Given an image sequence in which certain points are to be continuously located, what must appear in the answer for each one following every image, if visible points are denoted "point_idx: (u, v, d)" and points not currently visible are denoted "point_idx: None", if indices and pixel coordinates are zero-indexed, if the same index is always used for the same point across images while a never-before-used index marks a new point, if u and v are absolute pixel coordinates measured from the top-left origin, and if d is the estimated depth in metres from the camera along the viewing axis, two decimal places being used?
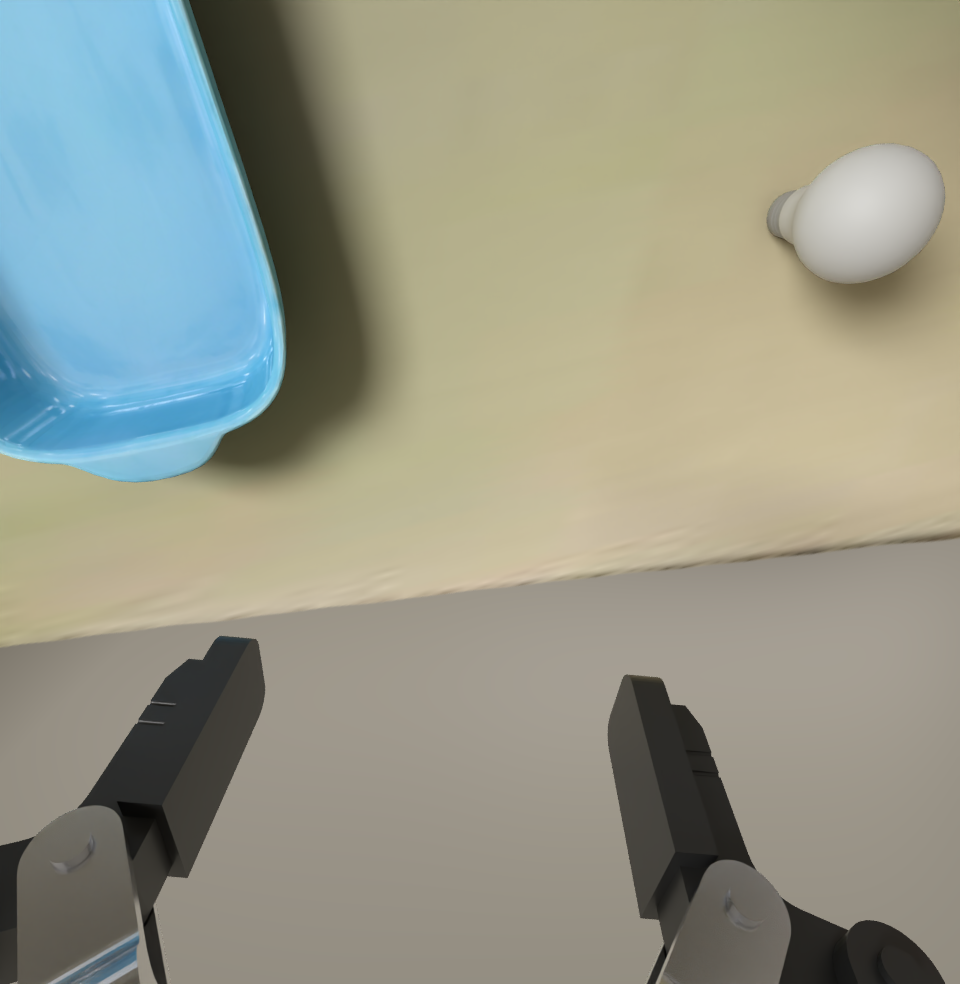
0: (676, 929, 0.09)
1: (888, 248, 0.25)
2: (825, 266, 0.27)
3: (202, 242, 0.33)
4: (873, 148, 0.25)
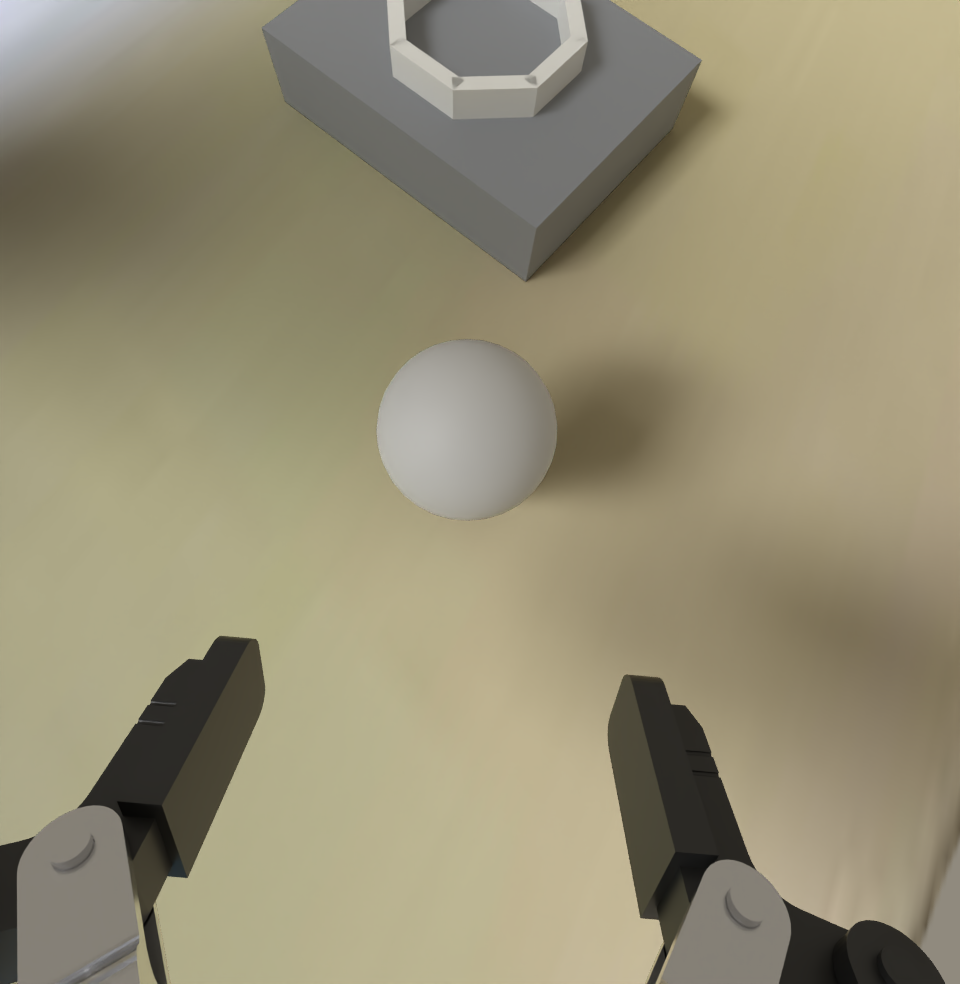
0: (676, 929, 0.09)
1: (494, 430, 0.16)
2: (480, 505, 0.17)
3: None
4: (385, 391, 0.18)
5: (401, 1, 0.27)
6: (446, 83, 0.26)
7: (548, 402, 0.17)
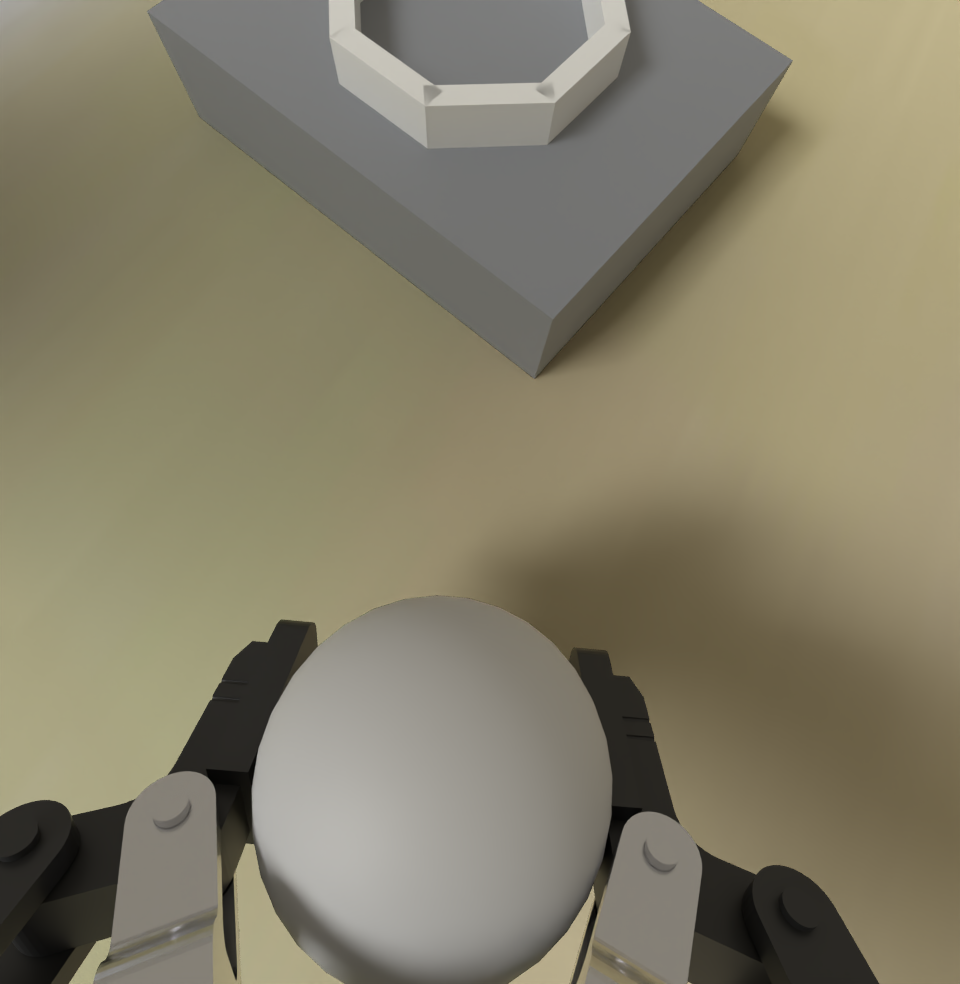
0: (603, 878, 0.09)
1: (487, 911, 0.07)
2: None
3: None
4: None
5: None
6: (415, 95, 0.17)
7: (600, 763, 0.08)
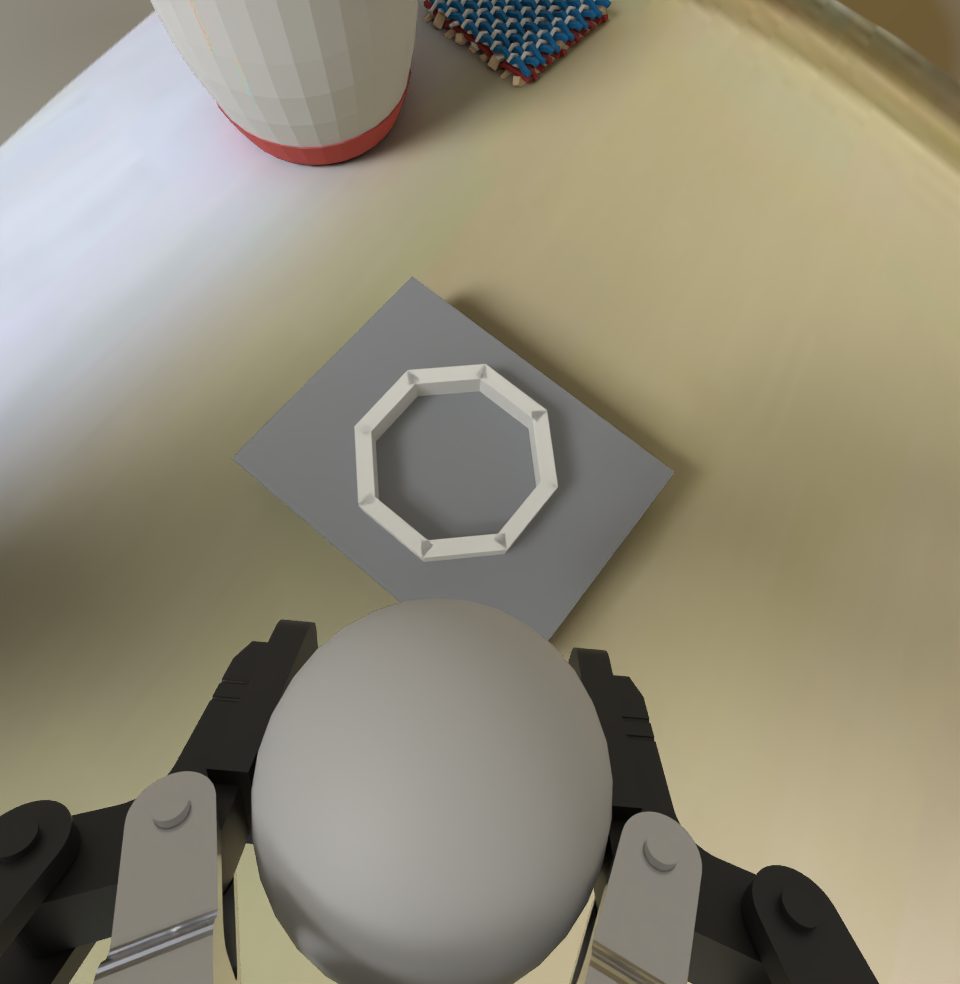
0: (603, 878, 0.09)
1: (488, 916, 0.07)
2: None
3: None
4: (273, 711, 0.09)
5: (370, 447, 0.27)
6: (415, 548, 0.26)
7: (600, 767, 0.08)
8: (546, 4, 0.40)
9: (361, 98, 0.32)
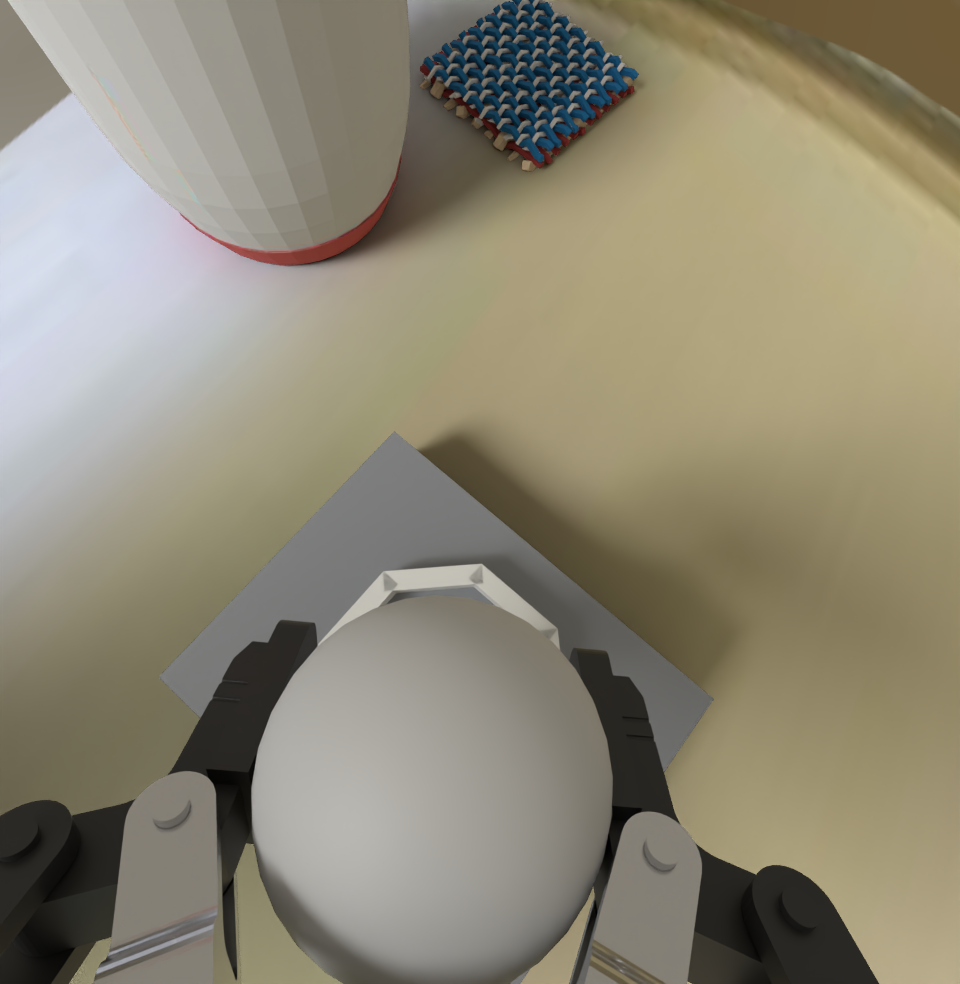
0: (603, 878, 0.09)
1: (488, 912, 0.07)
2: None
3: None
4: None
5: None
6: None
7: (600, 764, 0.08)
8: (563, 74, 0.34)
9: (338, 204, 0.26)
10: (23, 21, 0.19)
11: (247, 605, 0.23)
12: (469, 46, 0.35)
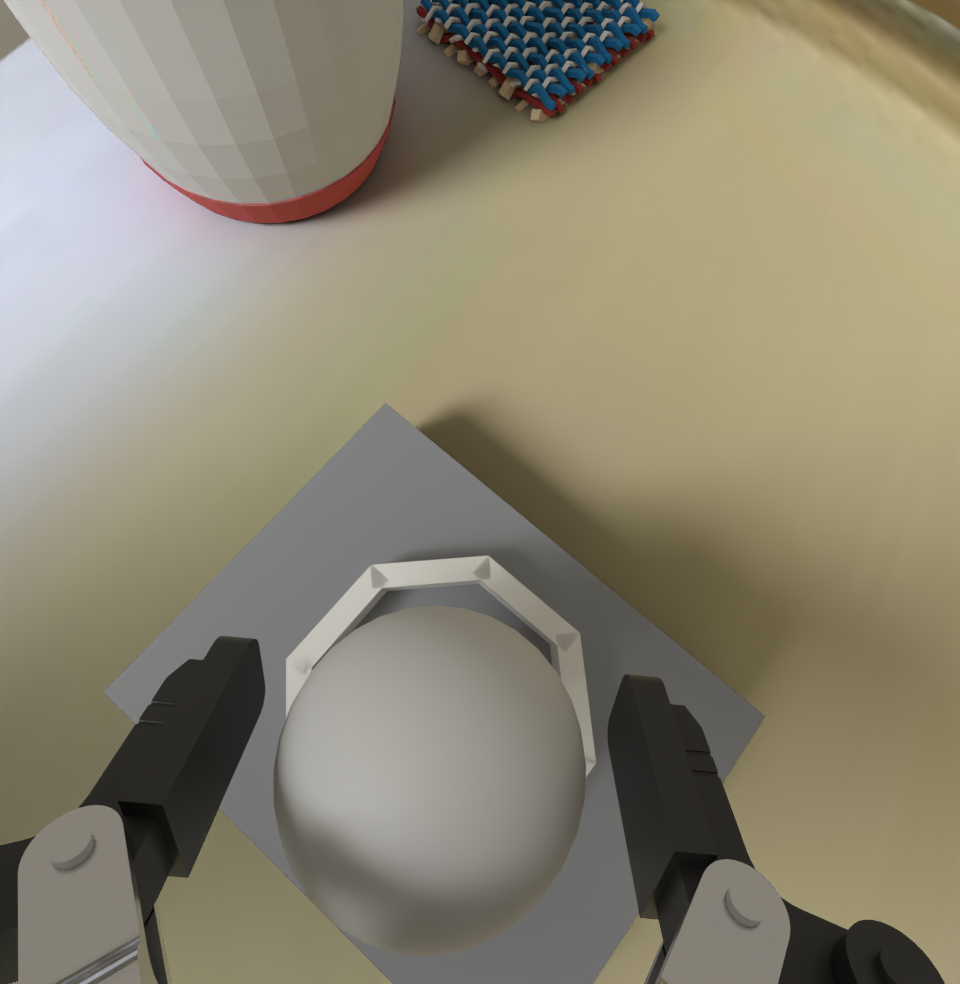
0: (676, 929, 0.09)
1: (471, 870, 0.08)
2: None
3: None
4: (293, 701, 0.11)
5: None
6: None
7: (573, 753, 0.10)
8: (576, 15, 0.31)
9: (321, 144, 0.23)
10: None
11: (211, 606, 0.19)
12: None
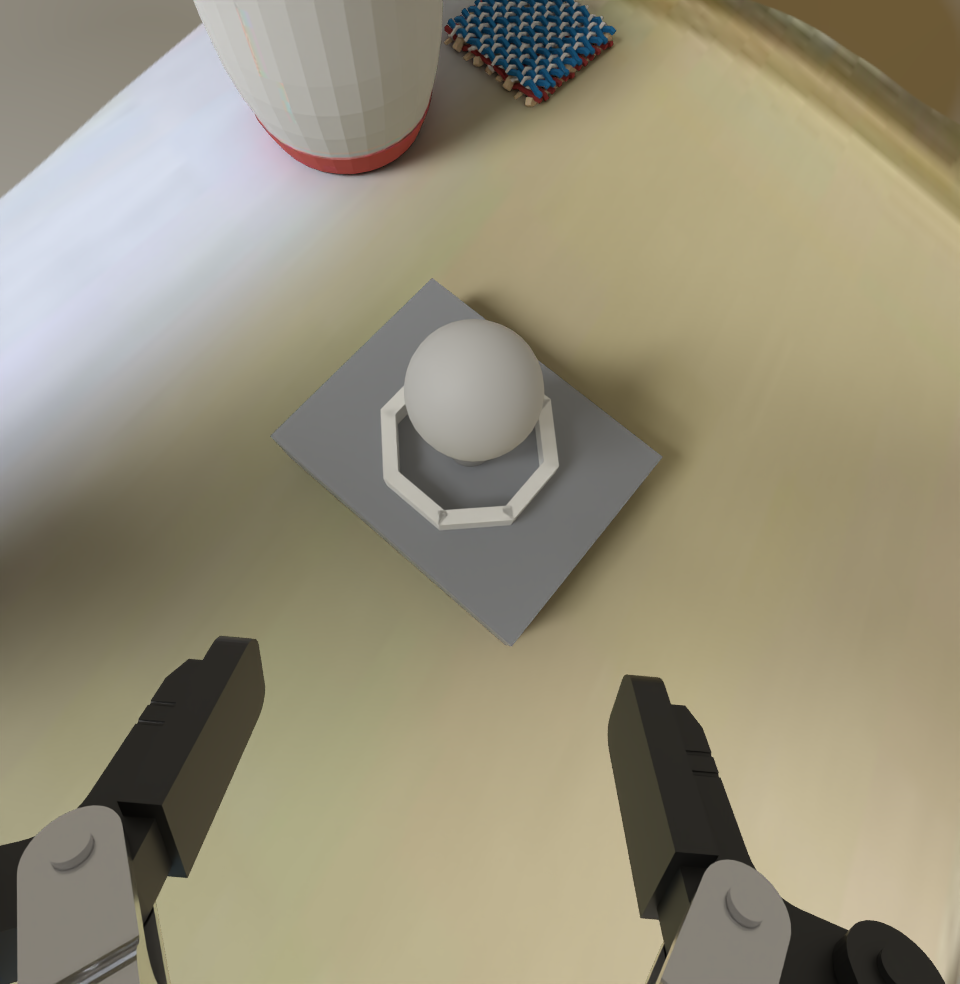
0: (676, 929, 0.09)
1: (494, 385, 0.21)
2: (483, 444, 0.22)
3: None
4: (411, 358, 0.24)
5: (394, 428, 0.30)
6: (433, 517, 0.29)
7: (537, 368, 0.23)
8: (556, 31, 0.44)
9: (389, 117, 0.36)
10: None
11: (330, 391, 0.32)
12: (482, 10, 0.44)
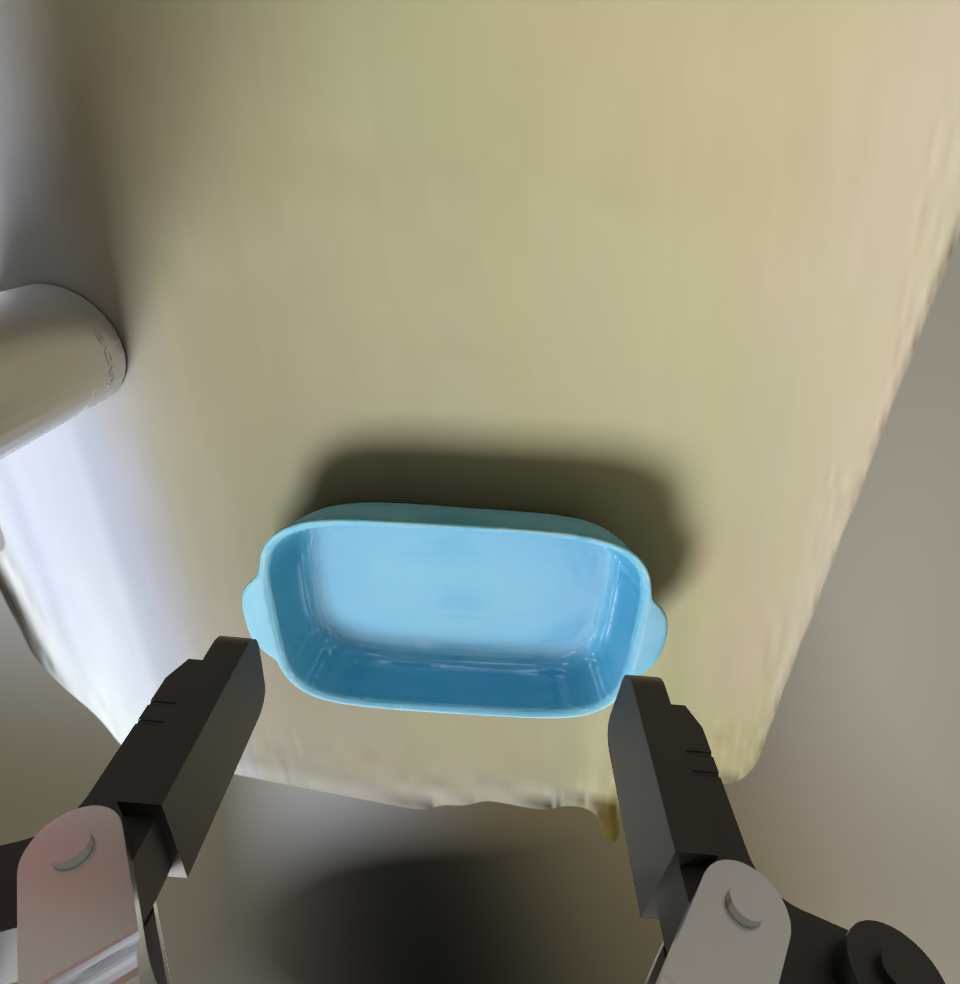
0: (676, 929, 0.09)
1: None
2: None
3: (526, 545, 0.50)
4: None
5: None
6: None
7: None
8: None
9: None
10: None
11: None
12: None
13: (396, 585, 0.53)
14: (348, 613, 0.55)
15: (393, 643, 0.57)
